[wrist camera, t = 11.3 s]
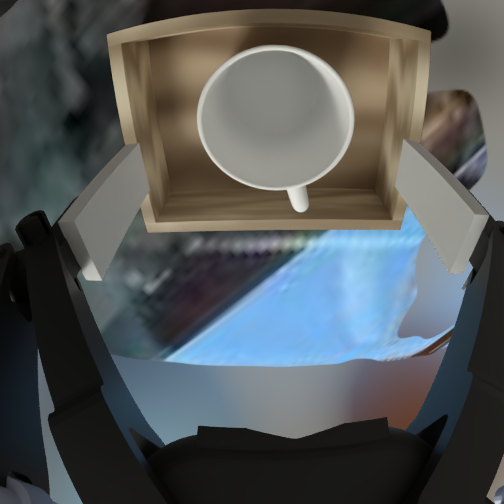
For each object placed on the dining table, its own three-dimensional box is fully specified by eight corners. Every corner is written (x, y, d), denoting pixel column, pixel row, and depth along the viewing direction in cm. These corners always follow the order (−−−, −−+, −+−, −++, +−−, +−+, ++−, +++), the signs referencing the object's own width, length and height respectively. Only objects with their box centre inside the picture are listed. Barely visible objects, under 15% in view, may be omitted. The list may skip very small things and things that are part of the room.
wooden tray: (139, 33, 19) (106, 34, 14) (397, 30, 18) (430, 31, 13) (165, 198, 30) (147, 232, 25) (380, 195, 29) (400, 229, 24)
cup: (307, 35, 19) (335, 30, 11) (338, 162, 26) (369, 225, 18) (208, 61, 21) (173, 74, 13) (251, 182, 28) (246, 252, 20)
